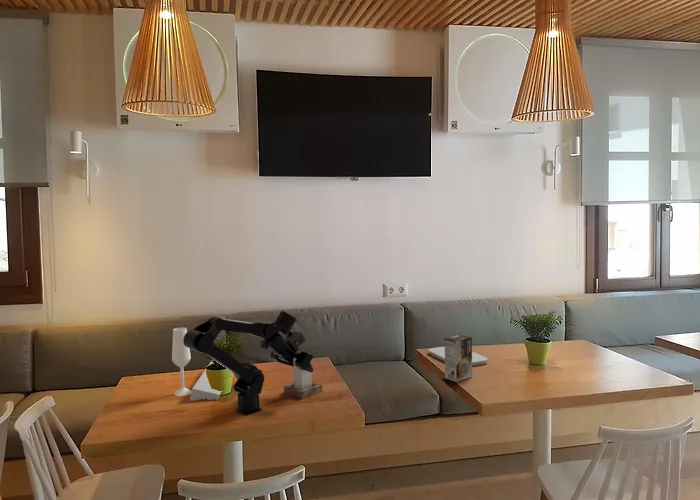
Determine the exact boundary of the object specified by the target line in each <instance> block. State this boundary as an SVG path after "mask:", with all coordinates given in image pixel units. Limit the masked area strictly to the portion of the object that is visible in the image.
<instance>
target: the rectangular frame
mask: <svg viewBox="0 0 700 500" xmlns="http://www.w3.org/2000/svg"><path fill="white" fill-rule="evenodd" d="M321 392H323V384H321V383H318V382H314V381H312V387H310V388H308V389H305V390H300V389H297V388H294V382H292V383H289V384H286V385H284V386H283V393H285V394H286V395H290V396H293V397H296V398H299V399H302V400H303V399H306V398H309V397H310V396H314V395H317V394H319V393H321Z"/></svg>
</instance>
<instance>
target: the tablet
mask: <svg viewBox="0 0 700 500" xmlns="http://www.w3.org/2000/svg"><path fill="white" fill-rule="evenodd" d="M428 352H429V354H430V355H431V356H433V357H435V358H437V359H439V360H440V361H443V362H444V363H445V345H444V346H437V347H432V348H428ZM488 359H489V358H488V357H487V356H483V355H481V354H479V353H477V352H475V351H472V367H474V366H482V365H485V364H487V362H488Z"/></svg>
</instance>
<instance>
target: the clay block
mask: <svg viewBox="0 0 700 500" xmlns="http://www.w3.org/2000/svg"><path fill="white" fill-rule="evenodd" d="M295 361H296V359H294V367H293V381H294V382H293V383H294V388H297V389H300V390H305V389H308V388H310V387H312V382H313V381H312V380H313V379H312V372H308V371H304V370H301V369H298V368H297V367H296V366H295ZM310 363H311V364H312V361H311V362H310Z"/></svg>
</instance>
